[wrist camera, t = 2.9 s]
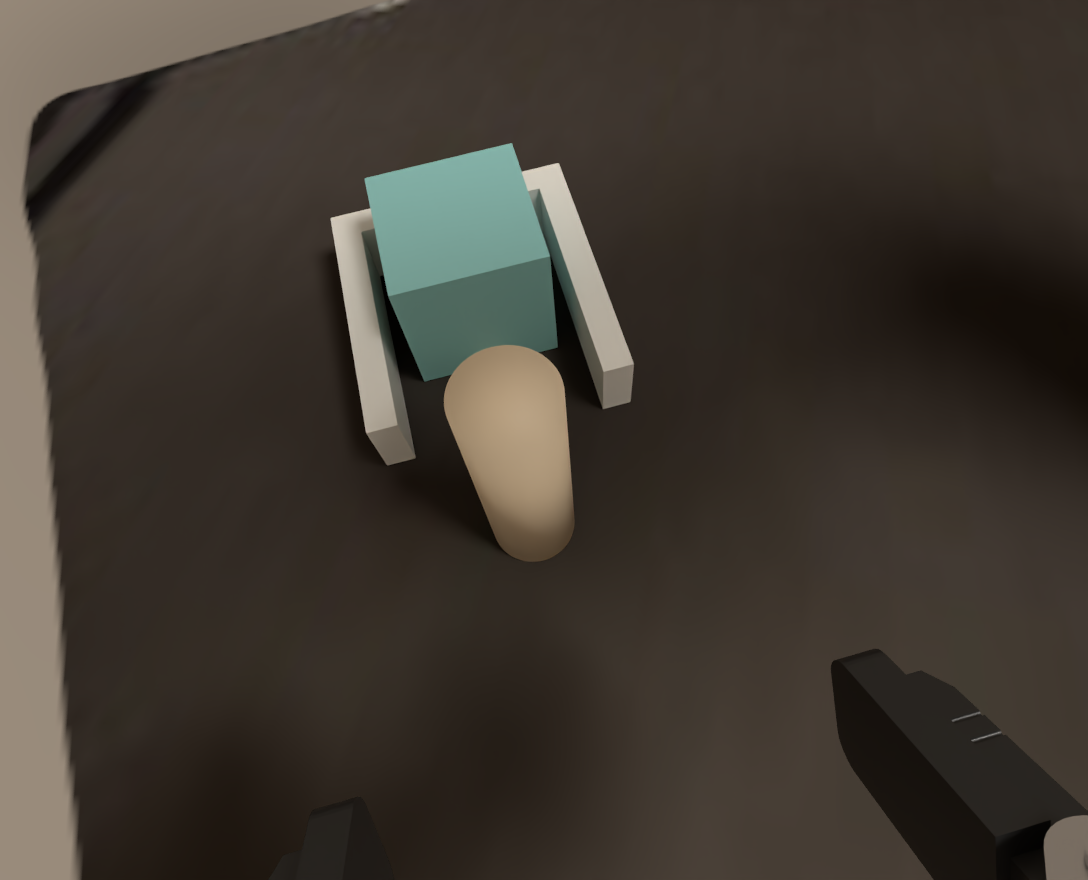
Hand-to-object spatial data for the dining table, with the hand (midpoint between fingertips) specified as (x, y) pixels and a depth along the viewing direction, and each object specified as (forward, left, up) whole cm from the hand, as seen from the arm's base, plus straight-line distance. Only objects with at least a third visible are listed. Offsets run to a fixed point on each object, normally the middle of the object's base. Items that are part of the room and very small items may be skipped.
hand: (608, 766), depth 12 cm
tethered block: (0, -15, -13) cm, 20 cm away
